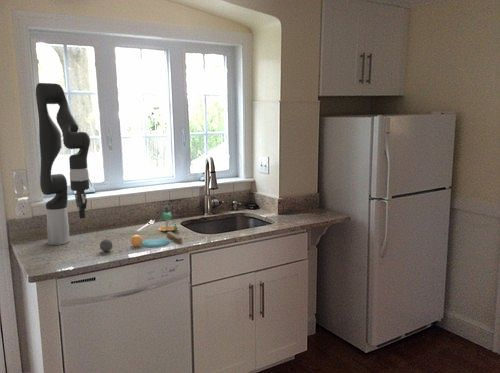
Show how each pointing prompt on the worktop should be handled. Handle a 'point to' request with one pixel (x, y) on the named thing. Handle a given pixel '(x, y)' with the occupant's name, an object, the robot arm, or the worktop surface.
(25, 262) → the worktop surface
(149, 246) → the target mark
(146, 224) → the fork
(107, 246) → the dark grey ball
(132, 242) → the object ball
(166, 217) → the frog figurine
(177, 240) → the wall
